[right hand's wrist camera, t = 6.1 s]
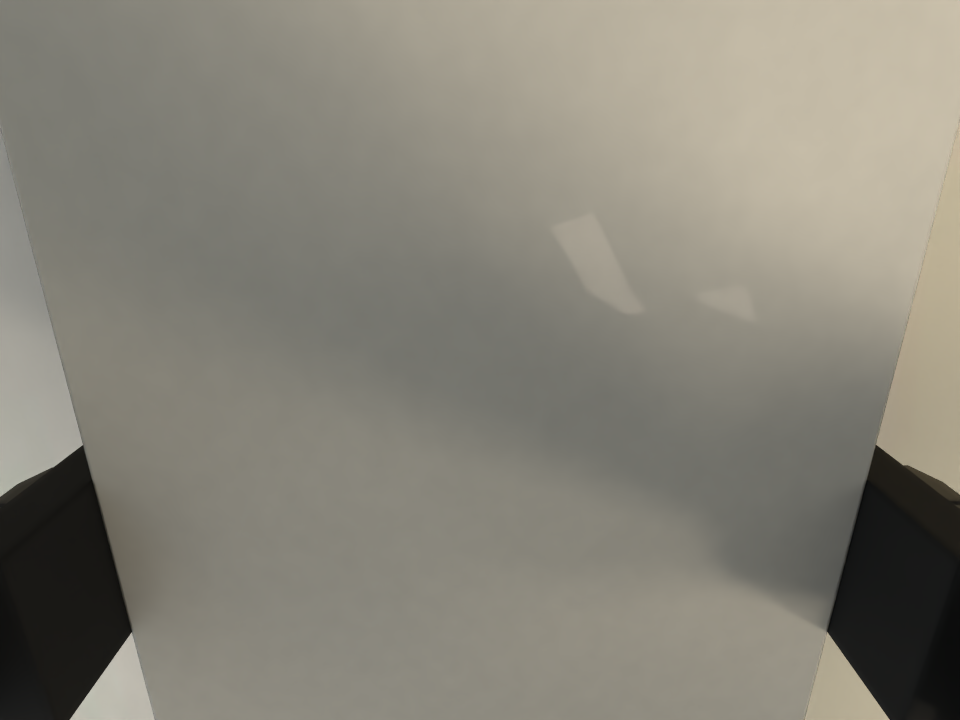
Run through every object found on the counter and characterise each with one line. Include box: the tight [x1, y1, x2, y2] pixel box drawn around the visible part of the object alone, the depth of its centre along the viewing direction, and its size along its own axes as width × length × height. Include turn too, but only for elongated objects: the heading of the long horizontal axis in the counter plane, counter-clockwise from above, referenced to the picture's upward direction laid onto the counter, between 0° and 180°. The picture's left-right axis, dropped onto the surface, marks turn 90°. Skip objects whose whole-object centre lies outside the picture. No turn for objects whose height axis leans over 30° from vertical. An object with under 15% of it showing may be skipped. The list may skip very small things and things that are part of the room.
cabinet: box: [0, 0, 960, 720], centre depth 11 cm, size 21×11×10 cm, turn 0°
